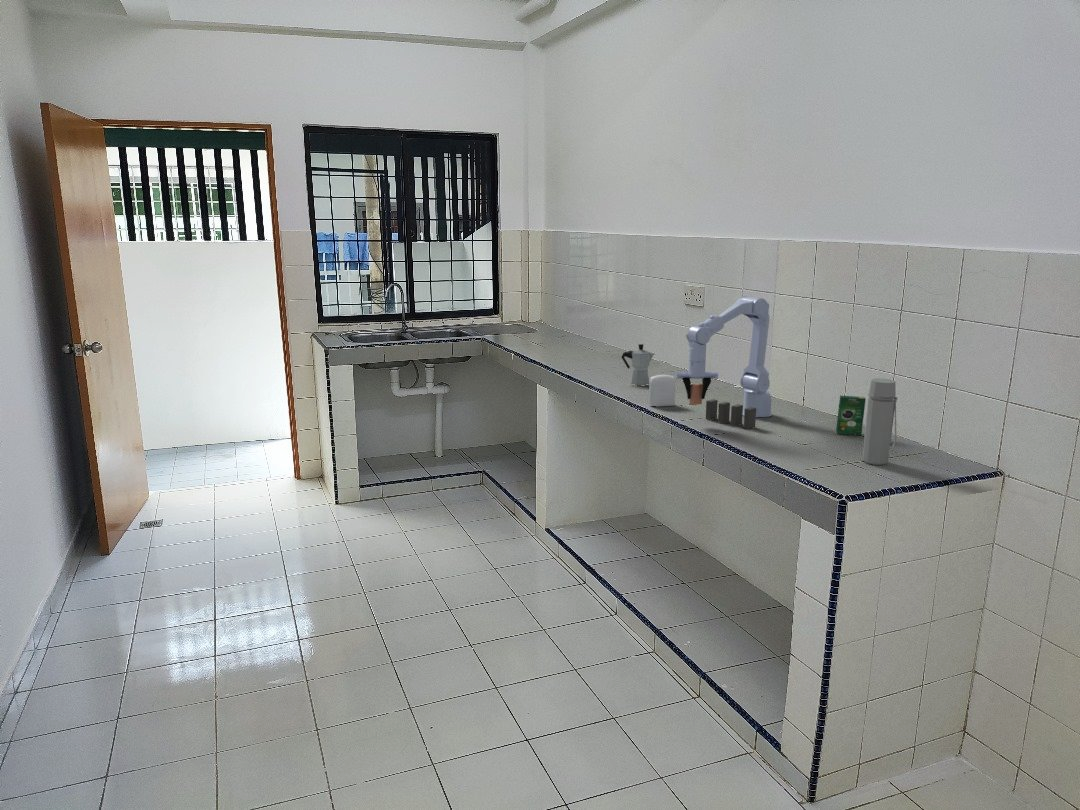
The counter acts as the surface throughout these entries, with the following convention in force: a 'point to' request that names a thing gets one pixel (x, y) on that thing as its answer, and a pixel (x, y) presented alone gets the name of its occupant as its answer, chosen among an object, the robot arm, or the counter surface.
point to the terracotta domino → (696, 394)
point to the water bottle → (879, 421)
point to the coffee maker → (639, 365)
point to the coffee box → (850, 415)
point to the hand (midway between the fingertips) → (695, 398)
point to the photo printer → (662, 390)
